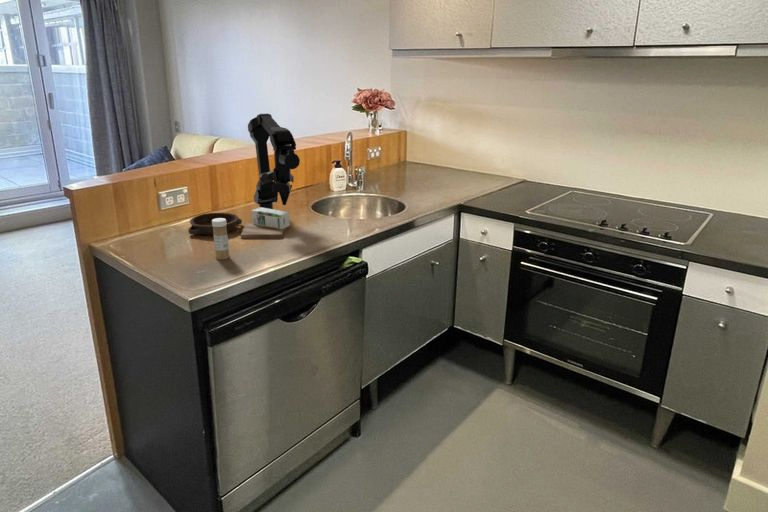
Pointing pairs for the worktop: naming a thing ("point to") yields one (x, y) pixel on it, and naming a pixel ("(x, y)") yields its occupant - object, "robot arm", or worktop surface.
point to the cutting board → (261, 231)
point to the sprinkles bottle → (220, 238)
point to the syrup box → (270, 218)
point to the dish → (204, 223)
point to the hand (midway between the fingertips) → (284, 204)
